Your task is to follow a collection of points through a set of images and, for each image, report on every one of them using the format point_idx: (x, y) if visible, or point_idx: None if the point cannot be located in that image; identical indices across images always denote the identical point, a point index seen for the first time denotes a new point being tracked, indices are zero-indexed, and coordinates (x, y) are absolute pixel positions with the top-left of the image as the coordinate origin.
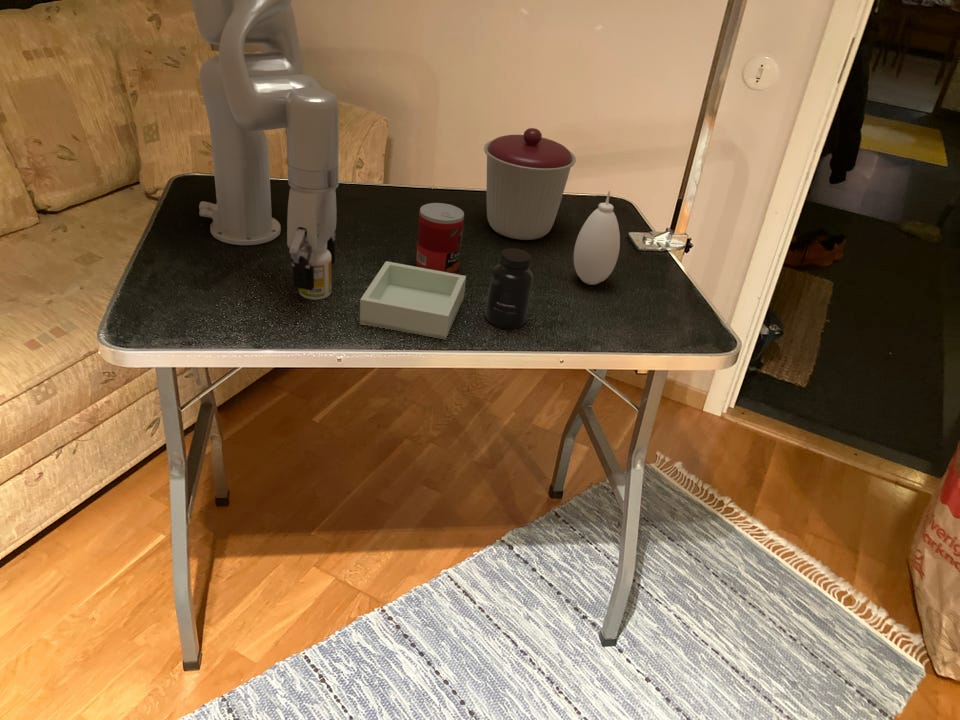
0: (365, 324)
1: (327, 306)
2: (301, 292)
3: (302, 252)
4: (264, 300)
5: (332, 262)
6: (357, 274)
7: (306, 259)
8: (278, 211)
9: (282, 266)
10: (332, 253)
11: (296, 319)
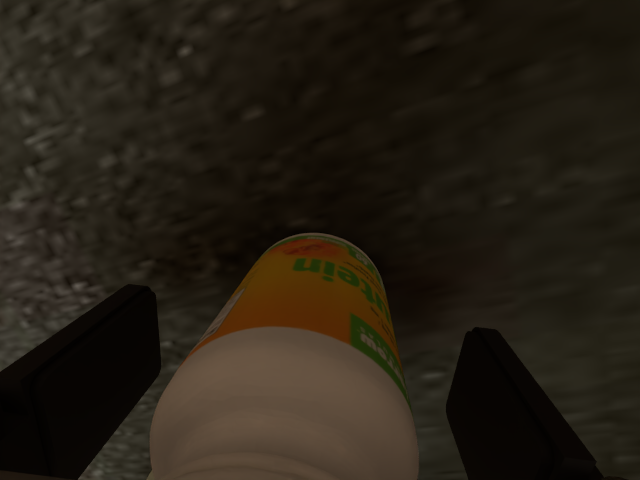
0: None
1: None
2: (257, 260)
3: (211, 419)
4: (176, 105)
5: (447, 417)
6: None
7: (150, 440)
8: None
9: (556, 72)
10: (467, 473)
11: (99, 275)
